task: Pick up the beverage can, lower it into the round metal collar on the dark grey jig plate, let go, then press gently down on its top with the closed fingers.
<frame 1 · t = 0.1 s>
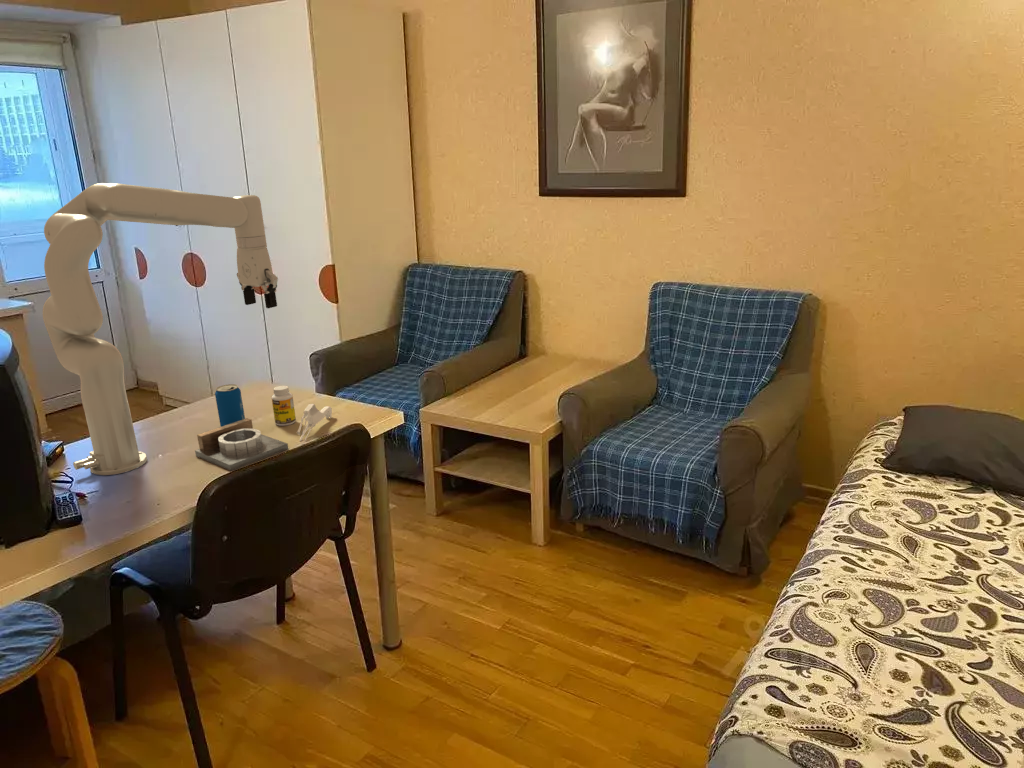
hand: (261, 305, 212), 31 cm above the table, tool pointing down, fingers open, 9 cm apart
beverage can: (234, 430, 210), on the table
supplement bottle: (285, 423, 213), on the table
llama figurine: (316, 430, 207), on the table
jig: (242, 452, 193), on the table
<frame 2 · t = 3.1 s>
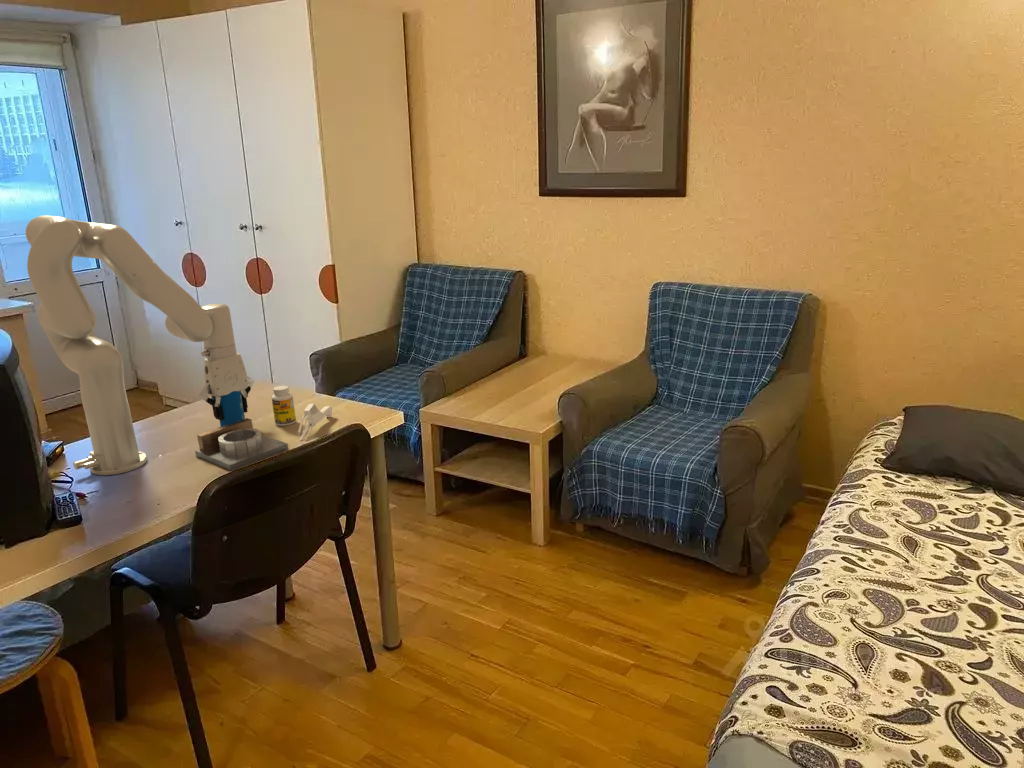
hand: (231, 414, 208), 4 cm above the table, tool pointing down, fingers closed on beverage can, 6 cm apart
beverage can: (234, 430, 210), on the table, touching gripper
everything else where it was.
when the fingers open (7 cm above the table, at t = 9.4 s): beverage can drops 1 cm, resting on jig.
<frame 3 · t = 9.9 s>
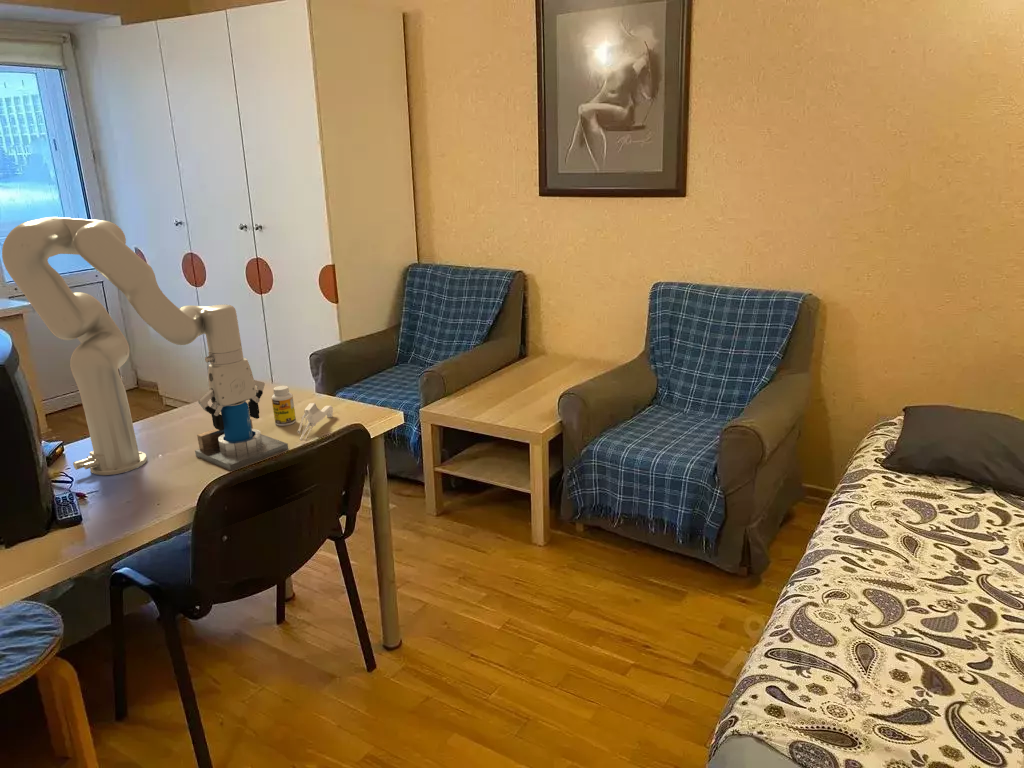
hand: (237, 423, 191), 8 cm above the table, tool pointing down, fingers open, 9 cm apart
beverage can: (240, 447, 193), point 1 cm above the table, touching jig
everything else where it was.
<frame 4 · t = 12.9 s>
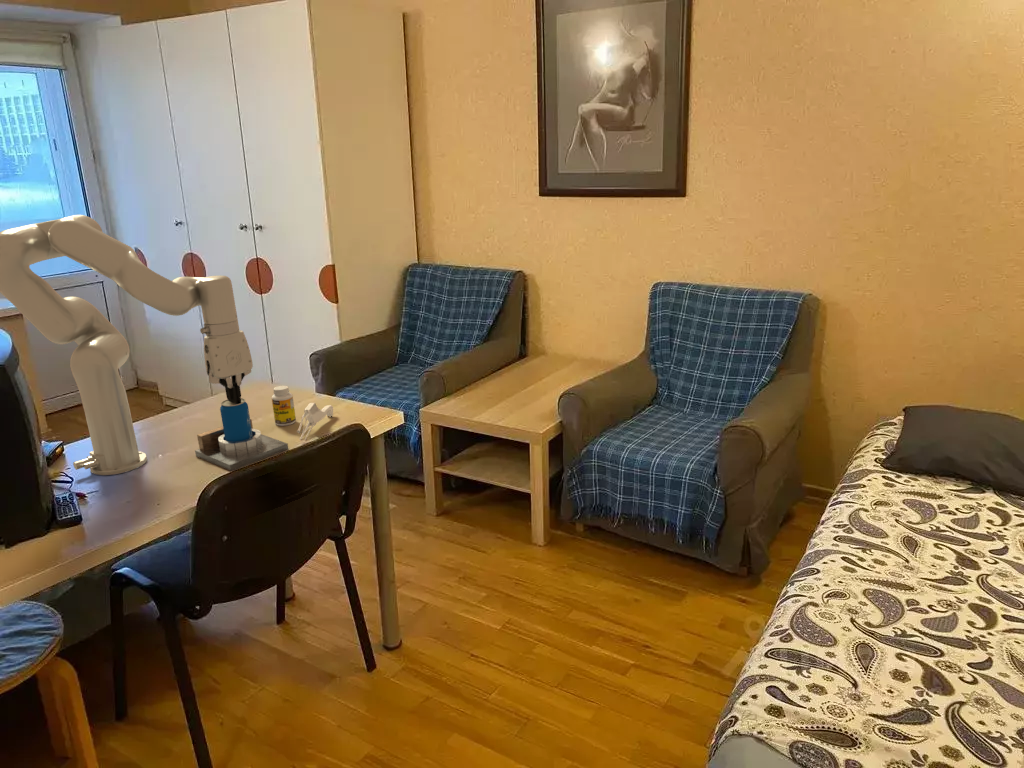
hand: (234, 401, 189), 14 cm above the table, tool pointing down, fingers closed
beverage can: (240, 448, 193), point 1 cm above the table, touching gripper, jig
everything else where it was.
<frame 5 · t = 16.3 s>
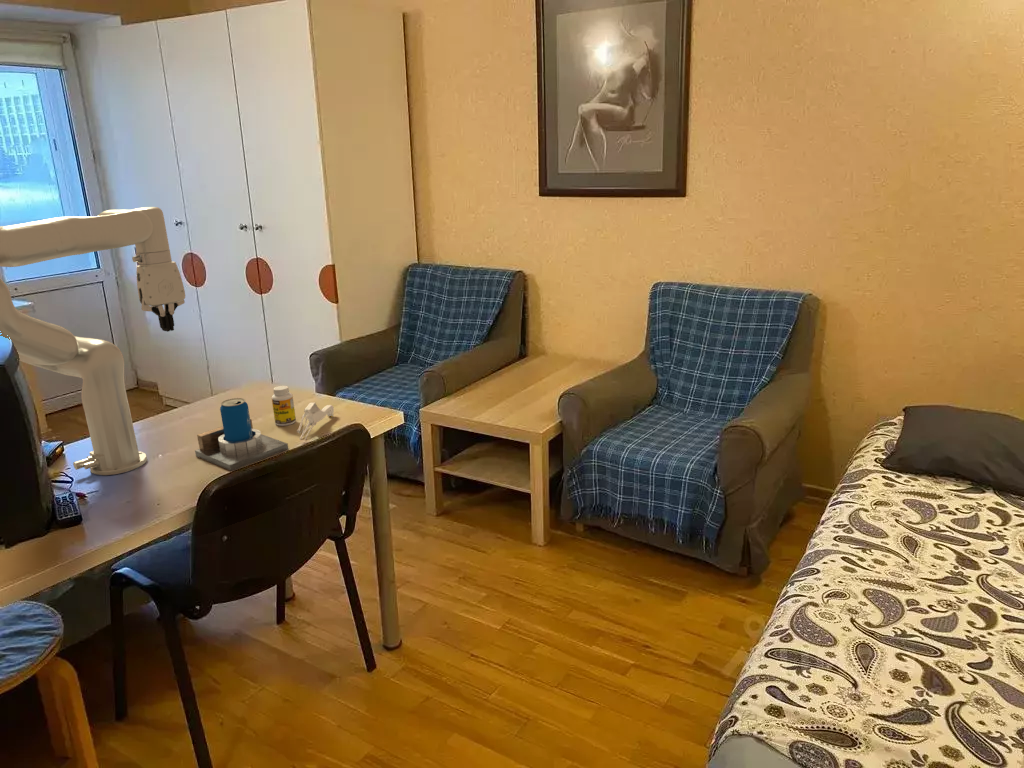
hand: (168, 330, 197), 29 cm above the table, tool pointing down, fingers closed
beverage can: (240, 448, 193), point 1 cm above the table, touching jig
at the end: beverage can 0.2 cm off-centre on the jig, point 1.3 cm above the jig's base; beverage can tilted 0°; the gripper is holding nothing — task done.
